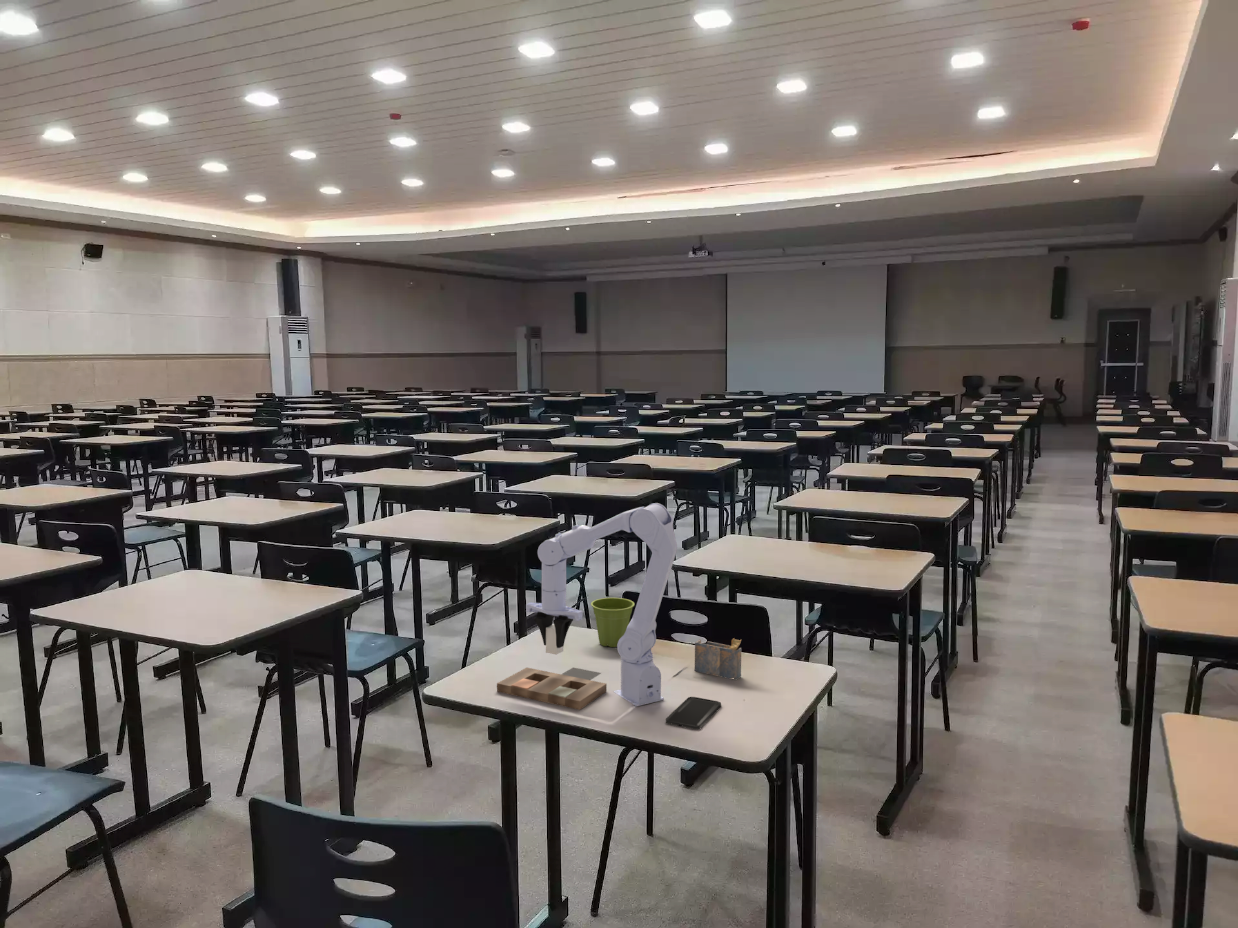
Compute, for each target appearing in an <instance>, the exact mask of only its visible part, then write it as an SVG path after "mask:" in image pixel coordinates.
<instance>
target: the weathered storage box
mask: <svg viewBox="0 0 1238 928" xmlns="http://www.w3.org/2000/svg"><path fill="white" fill-rule="evenodd" d="M741 642H742V639H740V640H739V639H735V637H734V638H732V639H731V643H730V644H731V645H729V644H723V643H719V642H712V641H707V642H706V643H702V640H701V639H699V640H697V641H695V642H694V671H695V672H699V673H703V674H707V675H712V676H717V677H720V676H722V677H721V678H725V677H726V679H729V678H734V679H737V678H739V677H740V676H741V677H742V647H739V646H740V645H741ZM741 677H740V678H741ZM740 678H739V679H740ZM734 679H733V680H734ZM737 680H738V679H737Z"/></svg>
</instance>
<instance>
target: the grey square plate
mask: <svg viewBox="0 0 1238 928" xmlns="http://www.w3.org/2000/svg"><path fill="white" fill-rule="evenodd" d="M561 674H562V675H567V676H571V677H576V678H581V679H586V680H591V681H592V680H593V679H595V678H596V677H597V676H599V675H602V672H598V671H593V670H588V669H583V668H579V667H578V668H577V667H571V668H569V669H567V670H566V671H565V672H563V673H561Z"/></svg>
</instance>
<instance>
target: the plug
mask: <svg viewBox="0 0 1238 928" xmlns="http://www.w3.org/2000/svg"><path fill="white" fill-rule="evenodd" d="M562 652H564V646H562V647H560V648H557V646H556V631H555V626H554V624H552V625H551V626H549V627H546V645H545V653H546V654H551V655H558V654H561V653H562Z"/></svg>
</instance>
